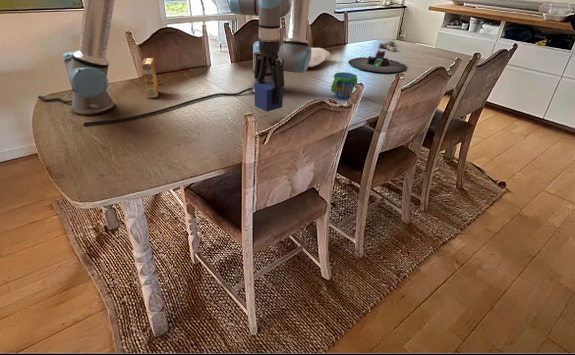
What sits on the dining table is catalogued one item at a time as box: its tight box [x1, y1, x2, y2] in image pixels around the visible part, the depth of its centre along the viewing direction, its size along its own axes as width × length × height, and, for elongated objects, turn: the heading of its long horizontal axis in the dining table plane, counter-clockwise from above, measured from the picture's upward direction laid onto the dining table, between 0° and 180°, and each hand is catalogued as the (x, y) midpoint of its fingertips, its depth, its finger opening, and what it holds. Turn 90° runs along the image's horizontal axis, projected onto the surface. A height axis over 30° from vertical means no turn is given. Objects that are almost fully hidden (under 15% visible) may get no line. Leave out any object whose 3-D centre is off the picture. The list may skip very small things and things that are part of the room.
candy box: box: [141, 57, 160, 99], centre depth 163 cm, size 9×4×15 cm, turn 13°
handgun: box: [378, 40, 398, 52], centre depth 263 cm, size 3×18×15 cm
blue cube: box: [254, 81, 284, 113], centre depth 141 cm, size 8×7×8 cm
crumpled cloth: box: [308, 47, 331, 68], centre depth 217 cm, size 24×35×9 cm
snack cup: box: [330, 71, 358, 100], centre depth 171 cm, size 16×10×10 cm
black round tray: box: [347, 49, 407, 74], centre depth 221 cm, size 35×35×9 cm
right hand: (268, 100), depth 142 cm, fingers closed on blue cube, 7 cm apart
